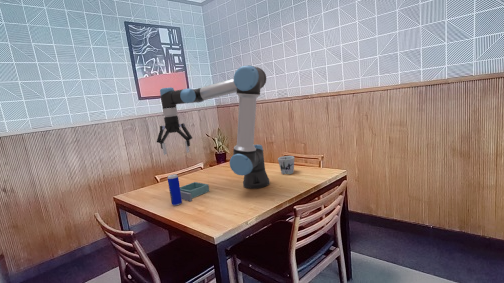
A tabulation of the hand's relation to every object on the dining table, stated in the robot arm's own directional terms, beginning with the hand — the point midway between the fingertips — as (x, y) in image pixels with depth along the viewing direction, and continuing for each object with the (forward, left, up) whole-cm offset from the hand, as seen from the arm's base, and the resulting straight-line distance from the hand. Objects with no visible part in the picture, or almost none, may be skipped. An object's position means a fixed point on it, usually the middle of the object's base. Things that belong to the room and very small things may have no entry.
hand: (176, 153), depth 158 cm
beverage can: (-15, +13, -23) cm, 31 cm away
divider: (-11, +7, -23) cm, 26 cm away
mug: (-35, -56, -23) cm, 70 cm away
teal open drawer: (-9, -1, -23) cm, 25 cm away
